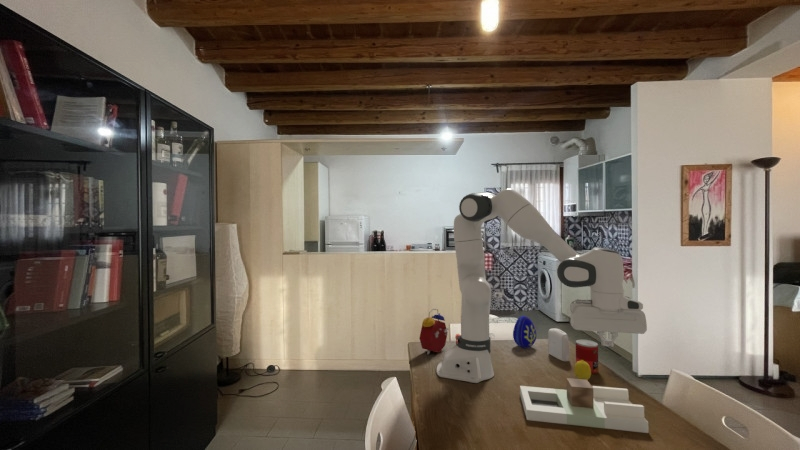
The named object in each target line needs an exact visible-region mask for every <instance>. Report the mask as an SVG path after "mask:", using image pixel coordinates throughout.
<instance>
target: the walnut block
mask: <svg viewBox="0 0 800 450" xmlns="http://www.w3.org/2000/svg"><path fill="white" fill-rule="evenodd" d="M588 380H589V379H588ZM588 380H584V379H578V378H571V377H566V390H567V398H568V400H569V402H570V404H571V406H573V407H583V408H594V400H593V387H592V386H593V385H592V384H591V383H590V382H589V381H588Z"/></svg>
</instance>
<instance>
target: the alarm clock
mask: <svg viewBox="0 0 800 450" xmlns="http://www.w3.org/2000/svg"><path fill="white" fill-rule="evenodd" d="M433 311H437V314H433V315H432V316H431V317H430V314H431V312H433ZM443 321H446V319H445V317H444V316H443V315H441V312H440V313H439V309H437V308H432V309H431V310H430V311H429V312H428V316H427V317H425V318H424V319H423V321H422V324H421V330H420V334H419V341H420V345H421V349H422V350H423V349H424V350H427V351H426V352H427V354H426V355H430V353H431V352H434V353H438V354H439V352H440V353H441V351H442V350H443V348H444V347H445V346H446V342H447V339H448V331H449V329H450V328H449V327H447V325H446V323H445V322H443Z"/></svg>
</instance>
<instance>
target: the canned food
mask: <svg viewBox="0 0 800 450" xmlns="http://www.w3.org/2000/svg"><path fill="white" fill-rule="evenodd" d="M581 360H583V361H585V362H586V363H588V364H589V366H590V369H591V375H592V374H597V373H598V372H599V344H598V342H596V341H593V340H590V339H577V340H575V364H576V363H577V362H578V361H581Z"/></svg>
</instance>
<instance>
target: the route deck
mask: <svg viewBox="0 0 800 450" xmlns="http://www.w3.org/2000/svg"><path fill="white" fill-rule="evenodd" d="M591 386H592V387H593V400H594V408H583V407H573V406H571V404H570V402H569V400H568V398H567V389H562V388H560V389H559V388H552V387H551V388H549V387H539V386H528V385H519V396H520V400H521V403H522V407H523V411H524V415H525V417H526V420H527V421H533V422H541V423H542V422H543V423H551V424H559V425H570V426H579V427H587V428H588V427H590V428H598V429H605V430H606V429H607V430H617V431H625V432H634V433H643V434H649V428H650V427H649V421H648V420H647V419H646V418H645V406H644V405H643V404H634V403H632V402H631V401H630V399H629V398H630V397H629V389H628V388H621V387H611V386H610V387H609V386H599V385H591Z"/></svg>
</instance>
